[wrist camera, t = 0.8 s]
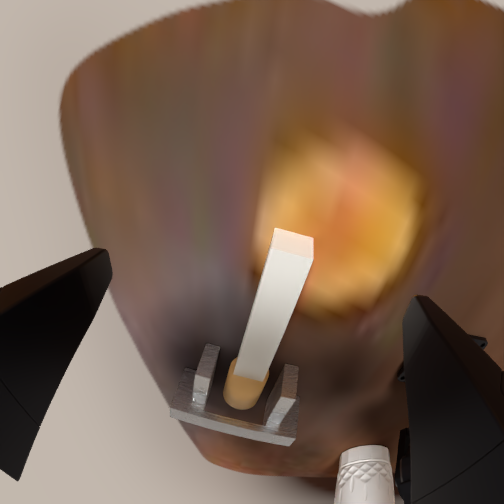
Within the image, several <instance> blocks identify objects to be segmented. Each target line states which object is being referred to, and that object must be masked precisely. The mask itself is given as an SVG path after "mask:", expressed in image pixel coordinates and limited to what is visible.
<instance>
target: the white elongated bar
mask: <svg viewBox="0 0 504 504" xmlns="http://www.w3.org/2000/svg"><path fill="white" fill-rule="evenodd" d="M312 262H313V238H311V237H308V236H304V235H301V234H297V233H293V232H290V231H286V230H282V229H279V228H275V229H274V233H273V236H272V240H271V244H270V247H269V251H268V254H267V258H266V261H265V265H264V268H263V272H262V275H261V278H260V282H259V285H258V289H257V292H256V296H255V299H254V303H253V306H252V309H251V313H250V316H249V320H248V323H247V327H246V330H245V333H244V337H243V340H242V343H241V347H240V350H239V354H238V357H237V358H235V359H234V360H233V361H232V363H231V365H230V368H229V372H228V375H227V379H226V382H225V386H224V390H223V397H224V399H225V401H226V402H227V403H228V404H229V405H230V406H231V407H233V408H236V409H240V410H245V409H249V408H251V407H253V406H254V405H255V404H256V403H257V401H258V399H259V397H260V394H261V392H262V390H263V388H264V386H265V384H266V382H267V379H268V377H269V367H270V364H271V362H272V360H273V358H274V355H275V353H276V351H277V348H278V346H279V344H280V341H281V339H282V337H283V334H284V332H285V329H286V327H287V325H288V322H289V320H290V317H291V315H292V312H293V310H294V307H295V305H296V303H297V300H298V298H299V295H300V293H301V290H302V287H303V285H304V282H305V280H306V277H307V275H308V272H309V270H310V267H311V264H312Z"/></svg>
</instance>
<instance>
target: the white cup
mask: <svg viewBox="0 0 504 504" xmlns="http://www.w3.org/2000/svg"><path fill="white" fill-rule="evenodd" d="M334 504H395V499H394V485H393V476H392V467H391V465H390V455H389V450H388V448H387V447H384V446H381V445H365V446H358V447H354V448H351V449H348V450H346V451H345V452H343V453H342V454H341V456H340V461H339V472H338V476H337V484H336V491H335V500H334Z"/></svg>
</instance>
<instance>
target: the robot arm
mask: <svg viewBox="0 0 504 504" xmlns="http://www.w3.org/2000/svg"><path fill="white" fill-rule="evenodd" d="M111 279H112V267H111V262H110V258H109V253H108V251H107V250H106V249H101V248H93V249H90V250H88V251H85V252H83V253H80V254H78V255H75V256H73V257H70V258H68V259H66V260H63V261H61V262H58V263H56V264H54V265H51V266H49V267H46V268H44V269H42V270H40V271H37V272H35V273H32V274H30V275H28V276H26V277H23V278H21V279H19V280H17V281H14V282H12V283H10V284H8V285H6V286H4V287H3V288H2V287H1V288H0V469H1V470H2V471H4V472H5V473H6V474H8V475H9V476H11V477H12V478H13V479H15V480H16V481H19V479H20V477H21V474H22V471H23V469H24V466H25V463H26V461H27V458H28V456H29V453H30V450H31V448H32V445H33V443H34V440H35V438H36V436H37V433H38V431H39V428H40V427H39V426H41V423H42V421H43V419H44V416H45V414H46V412H47V410H48V408H49V405H50V403H51V401H52V399H53V397H54V395H55V392H56V390H57V388H58V386H59V384H60V382H61V380H62V378H63V376H64V374H65V372H66V370H67V368H68V366H69V364H70V362H71V360H72V358H73V356H74V354H75V352H76V350H77V348H78V347H79V345H80V343H81V341H82V339H83V337H84V335H85V334H86V332H87V330H88V328H89V326H90V324H91V323H92V321H93V319H94V317H95V315H96V312H97V310H98V308H99V306H100V303H101V301H102V299H103V297H104V295H105V292H106V290H107V288H108V286H109V284H110V281H111ZM402 325H403V351H404V367H403V368H402V370H401V371H400V372H399V373H398V375H397V377H398V380H399V381H402V382H405V384H406V393H407V404H408V416H409V428H405V429H402V430H400V439H399V445H398V454H397V463H396V471H395V485H396V486H397V488H398V491H399V493H400V496H401V497H402V499H403V500H404V504H504V371H502V369H501V368H500V367H499V366H498V365H497V364H496V363H495V362H494V361H493V360H492V359H491V358H490V356H489V355H488V354H487V353H486V352H485V351H484V350H483V349H484V348H485V347H486V346H487V344H488V343H487V340H486V338H483V337H478V336H473V335H469V334H467V333H466V332H465V331H464V330H463V329H462V328H461V327H460V326H459V325H457V324H456V323H455V322H454V321H453V320H452V319H451V318H450V317H449V316H448V315H447V314H446V313H445V312H444V311H443V310H442V309H441V308H440V307H438V306H437V305H436V304H435V303H434V302H433V301H432V300H431V299H430V298H429V297H427V296H423V295H414V296H413V297H412V299H411V301H410V304H409V306H408V308H407V310H406V313H405V315H404V318H403V323H402Z"/></svg>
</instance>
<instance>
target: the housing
mask: <svg viewBox="0 0 504 504" xmlns="http://www.w3.org/2000/svg"><path fill="white" fill-rule="evenodd" d="M219 351H220V347H219V346H215V345H212V344H208V343H206V346H205V349H204V351H203V354H202V357H201V360H200V362H199V365H198V368H197V371H196V370H193V369H190V368H186V367H185V369H184V372H183V375H182V377H181V380H180V382H179V385H178V388H177V390H176V393H175V395H174V398H173V400H172V403H171V406H170V417H172V418H175V419H178V420H182V421H185V422H188V423H191V424H195V425H198V426H201V427H205V428H209V429H212V430H216V431H220V432H224V433H228V434H232V435H236V436H240V437H244V438H249V439H253V440H258V441H263V442H268V443H273V444H278V445H284V446H290V445H291V444H292V442H293V441H294V440H295V439H296V432H297V423H298V412H299V402H300V396H296V392H297V381H298V370H299V367H298V366H294V365H289V364H285V365H284V367H283V369H282V371H281V373H280V375H279V377H278V379H277V381H276V383H275V385H274V387H273V389H272V391H271V393H270V395H269V397H268V399H267V401H266V407H265V413H264V419H263V425H258V424H254V423H249V422H245V421H241V420H237V419H233V418H229V417H225V416H221V415H217V414H214V413H210V412H207V411H204V409H205V406H206V403H207V400H208V396H209V393H210V390H211V387H212V382H213V378H214V373H215V369H216V364H217V360H218V355H219Z"/></svg>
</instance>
